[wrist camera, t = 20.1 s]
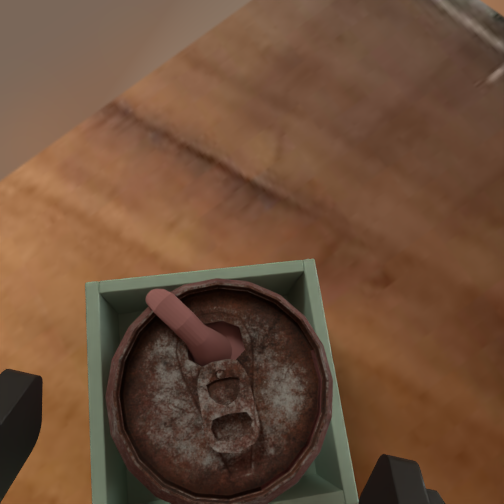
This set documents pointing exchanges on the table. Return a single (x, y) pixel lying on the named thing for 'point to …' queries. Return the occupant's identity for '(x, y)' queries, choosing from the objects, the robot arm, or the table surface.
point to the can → (219, 394)
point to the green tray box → (132, 306)
